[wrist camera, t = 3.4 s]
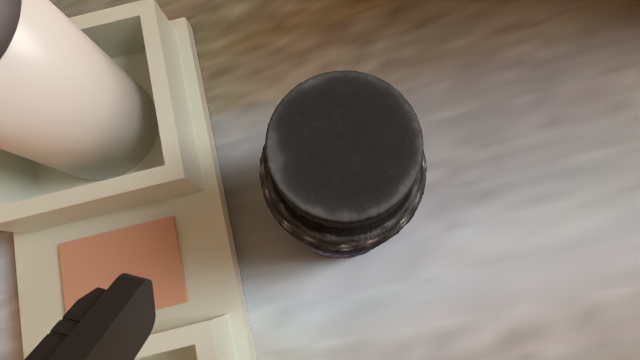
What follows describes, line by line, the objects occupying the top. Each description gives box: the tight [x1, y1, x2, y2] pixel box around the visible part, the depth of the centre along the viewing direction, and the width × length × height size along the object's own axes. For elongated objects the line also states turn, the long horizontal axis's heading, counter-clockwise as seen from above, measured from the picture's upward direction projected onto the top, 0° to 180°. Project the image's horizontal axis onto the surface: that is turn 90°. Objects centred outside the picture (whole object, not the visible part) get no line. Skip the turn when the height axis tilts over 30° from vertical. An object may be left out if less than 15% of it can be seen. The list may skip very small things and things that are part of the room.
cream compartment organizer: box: [0, 0, 257, 360], centre depth 16 cm, size 27×11×13 cm, turn 14°
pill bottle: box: [260, 71, 427, 258], centre depth 18 cm, size 6×6×11 cm
